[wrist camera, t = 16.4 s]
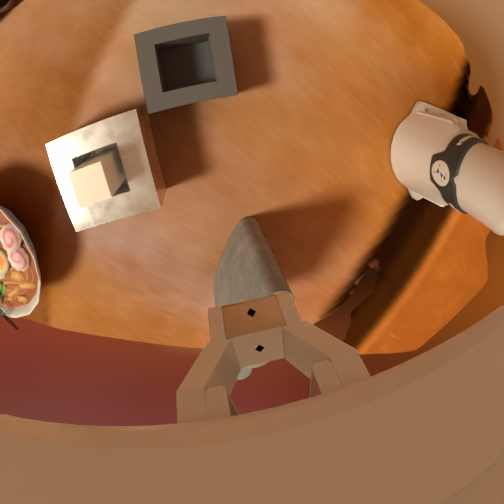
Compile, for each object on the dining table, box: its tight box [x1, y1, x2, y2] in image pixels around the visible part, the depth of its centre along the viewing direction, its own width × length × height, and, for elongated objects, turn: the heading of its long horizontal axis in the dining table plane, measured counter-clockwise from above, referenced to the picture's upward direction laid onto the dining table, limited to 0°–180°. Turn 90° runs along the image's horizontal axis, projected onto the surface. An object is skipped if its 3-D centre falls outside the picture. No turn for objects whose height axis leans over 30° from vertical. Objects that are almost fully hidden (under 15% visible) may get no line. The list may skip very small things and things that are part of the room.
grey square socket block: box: [134, 16, 238, 114], centre depth 26 cm, size 10×10×6 cm
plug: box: [68, 147, 126, 208], centre depth 28 cm, size 4×4×10 cm
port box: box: [46, 107, 166, 232], centre depth 30 cm, size 12×12×7 cm
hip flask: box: [214, 217, 294, 380], centre depth 37 cm, size 16×4×20 cm, turn 160°
